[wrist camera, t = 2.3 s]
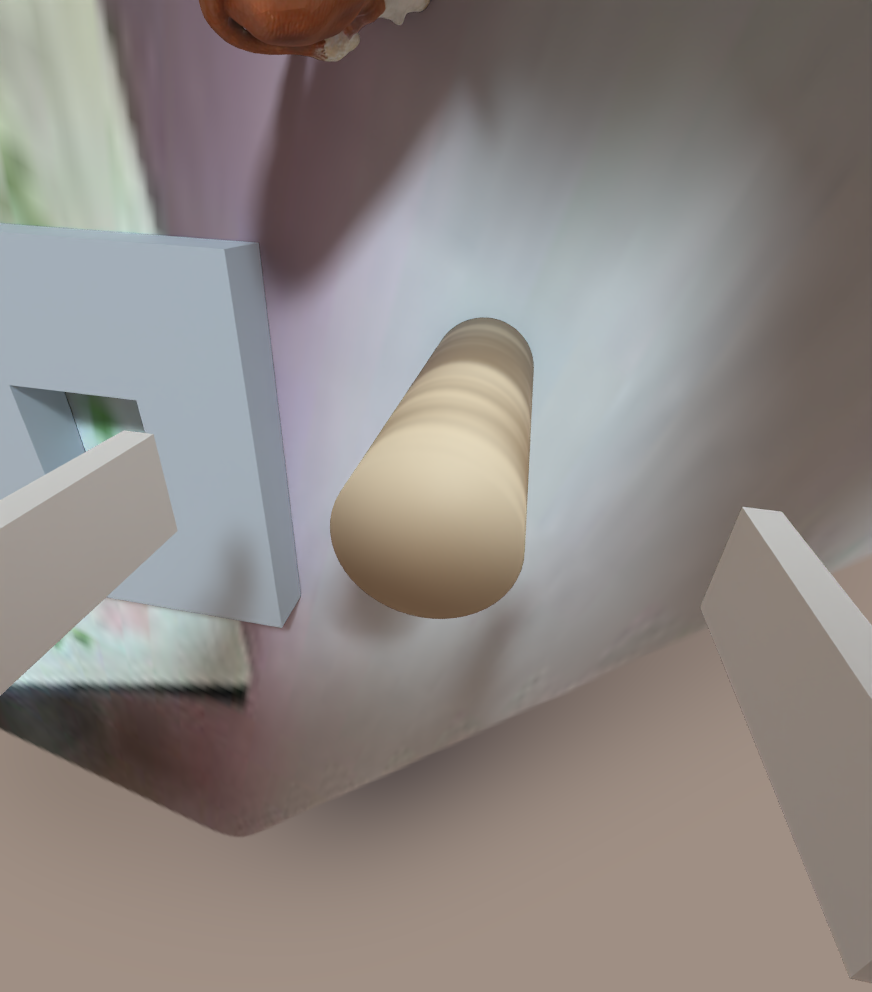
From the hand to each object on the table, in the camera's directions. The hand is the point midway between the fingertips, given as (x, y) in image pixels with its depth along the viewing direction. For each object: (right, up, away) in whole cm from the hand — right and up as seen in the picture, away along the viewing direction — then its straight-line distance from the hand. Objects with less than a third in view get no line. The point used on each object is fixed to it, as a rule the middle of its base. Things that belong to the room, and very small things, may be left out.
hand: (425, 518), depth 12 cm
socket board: (-15, +4, +13) cm, 20 cm away
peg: (+2, +6, +9) cm, 11 cm away
